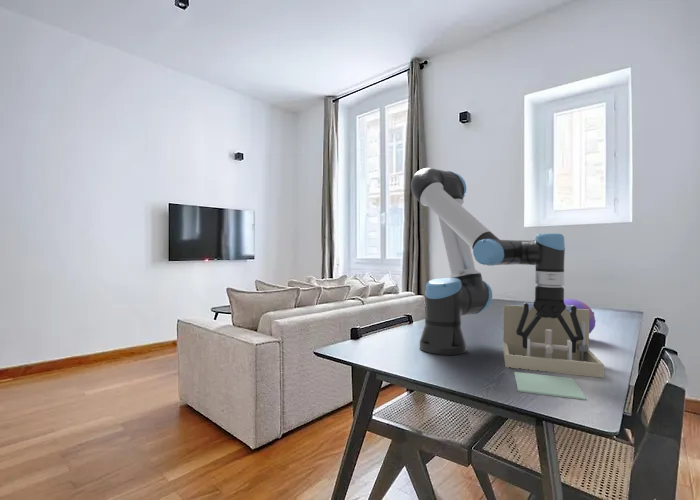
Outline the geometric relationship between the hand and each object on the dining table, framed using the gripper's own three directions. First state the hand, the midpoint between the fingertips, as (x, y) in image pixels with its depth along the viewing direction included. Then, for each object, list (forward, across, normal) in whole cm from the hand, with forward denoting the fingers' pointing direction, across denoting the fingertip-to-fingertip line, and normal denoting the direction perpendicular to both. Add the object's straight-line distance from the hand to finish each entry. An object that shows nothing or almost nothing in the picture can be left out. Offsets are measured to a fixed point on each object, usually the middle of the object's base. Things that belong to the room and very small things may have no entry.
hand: (548, 361), depth 113 cm
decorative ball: (+1, +13, +39) cm, 41 cm away
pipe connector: (+1, 0, 0) cm, 1 cm away
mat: (+1, -3, -20) cm, 20 cm away
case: (+1, 0, 0) cm, 1 cm away
